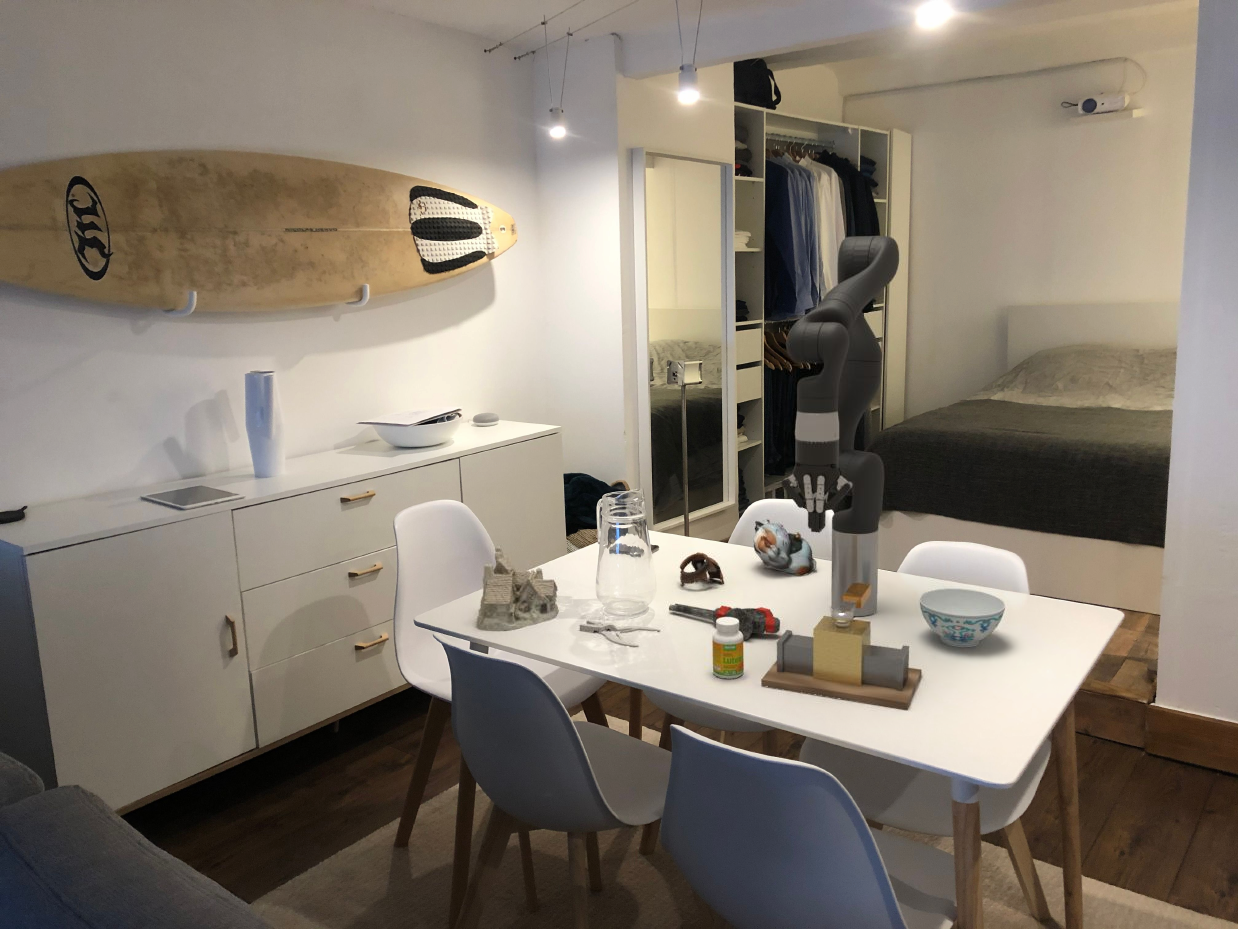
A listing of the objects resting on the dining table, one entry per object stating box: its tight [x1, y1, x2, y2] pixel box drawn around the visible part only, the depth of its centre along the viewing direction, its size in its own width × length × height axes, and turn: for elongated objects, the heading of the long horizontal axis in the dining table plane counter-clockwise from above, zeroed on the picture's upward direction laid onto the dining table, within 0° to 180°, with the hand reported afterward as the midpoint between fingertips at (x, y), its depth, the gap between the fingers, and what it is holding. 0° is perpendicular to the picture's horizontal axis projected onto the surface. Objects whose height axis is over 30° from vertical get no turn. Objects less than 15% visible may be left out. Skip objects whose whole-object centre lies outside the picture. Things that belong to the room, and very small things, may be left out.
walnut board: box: [760, 660, 923, 711], centre depth 161 cm, size 14×24×1 cm, turn 64°
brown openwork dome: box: [679, 551, 725, 586], centre depth 215 cm, size 12×10×8 cm
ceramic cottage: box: [476, 545, 560, 632], centre depth 196 cm, size 16×16×15 cm
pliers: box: [579, 619, 661, 648], centre depth 186 cm, size 10×2×15 cm
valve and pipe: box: [776, 615, 910, 691], centre depth 160 cm, size 7×21×10 cm, turn 64°
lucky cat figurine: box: [753, 518, 817, 576], centre depth 222 cm, size 15×12×14 cm
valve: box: [668, 603, 781, 641], centre depth 190 cm, size 6×26×15 cm
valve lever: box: [830, 582, 871, 622], centre depth 164 cm, size 17×4×2 cm, turn 154°
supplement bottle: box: [711, 617, 745, 680], centre depth 165 cm, size 5×5×10 cm
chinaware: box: [918, 588, 1006, 648], centre depth 176 cm, size 15×15×8 cm
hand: (816, 531), depth 170 cm, fingers closed
